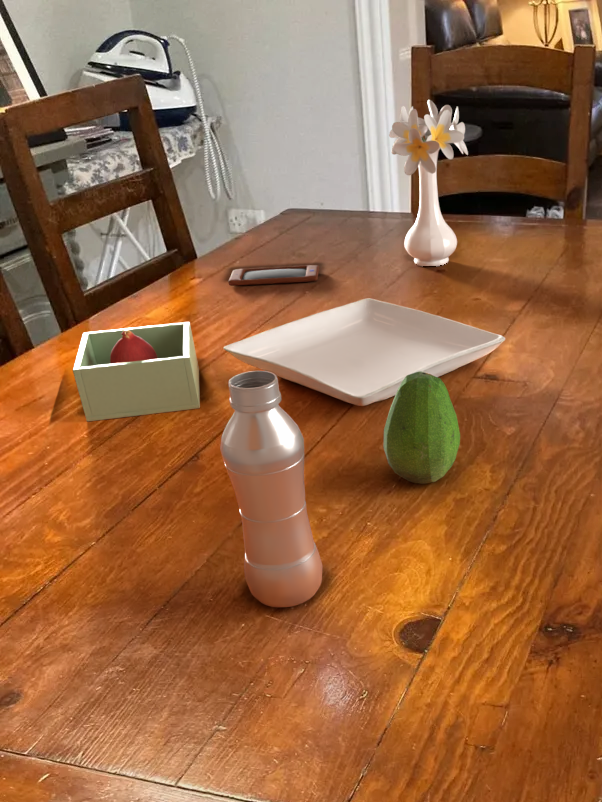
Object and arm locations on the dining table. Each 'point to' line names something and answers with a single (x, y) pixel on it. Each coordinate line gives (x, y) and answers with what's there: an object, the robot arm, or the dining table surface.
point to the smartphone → (274, 275)
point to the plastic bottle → (270, 492)
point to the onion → (131, 349)
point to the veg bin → (138, 373)
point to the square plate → (364, 349)
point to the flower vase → (428, 178)
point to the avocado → (421, 429)
